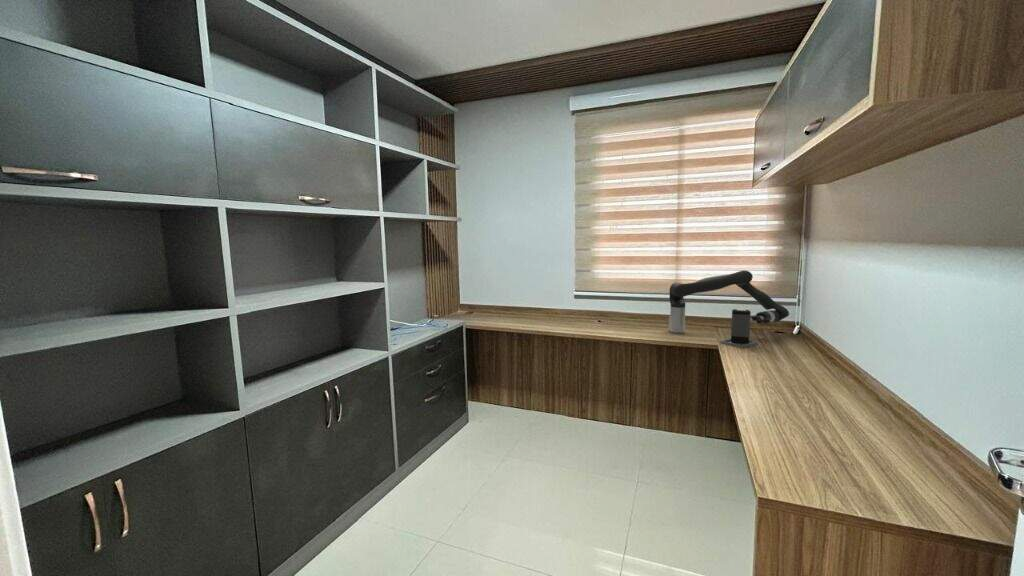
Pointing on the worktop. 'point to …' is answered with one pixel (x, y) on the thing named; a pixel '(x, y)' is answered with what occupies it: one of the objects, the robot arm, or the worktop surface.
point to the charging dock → (728, 342)
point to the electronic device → (740, 326)
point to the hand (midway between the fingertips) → (750, 320)
